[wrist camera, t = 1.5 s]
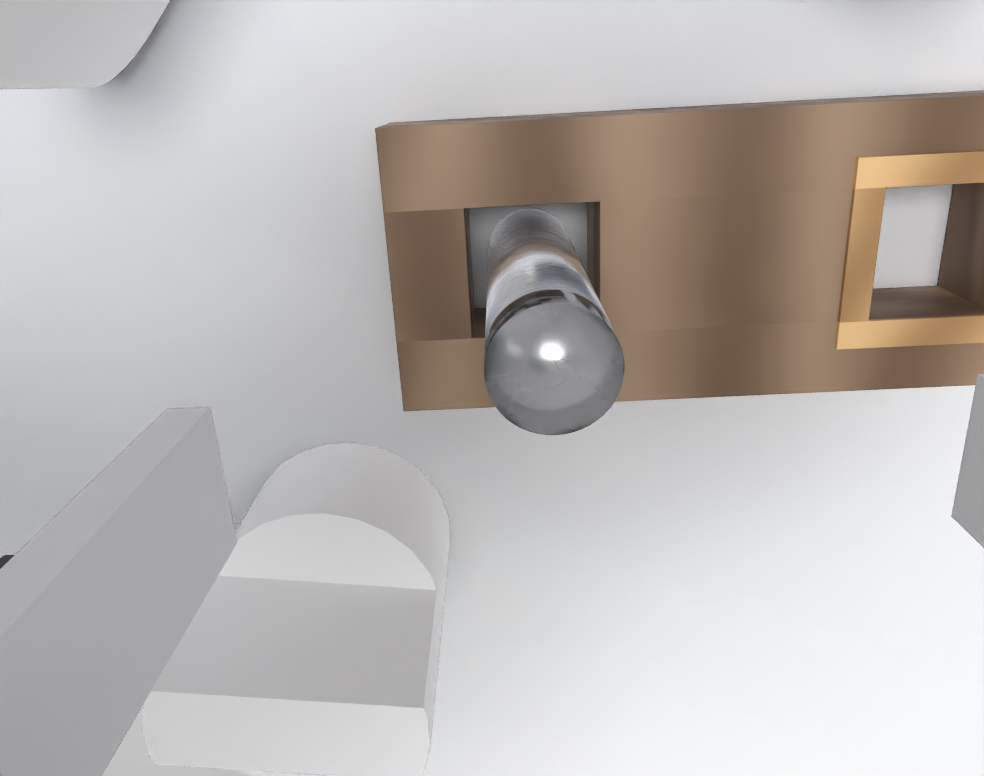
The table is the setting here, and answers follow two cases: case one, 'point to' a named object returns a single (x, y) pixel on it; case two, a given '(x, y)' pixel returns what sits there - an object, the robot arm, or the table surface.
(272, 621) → the cylinder with rectangular tab
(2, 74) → the cable organizer
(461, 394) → the mount block
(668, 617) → the table surface
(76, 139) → the table surface
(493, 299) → the lock pin
